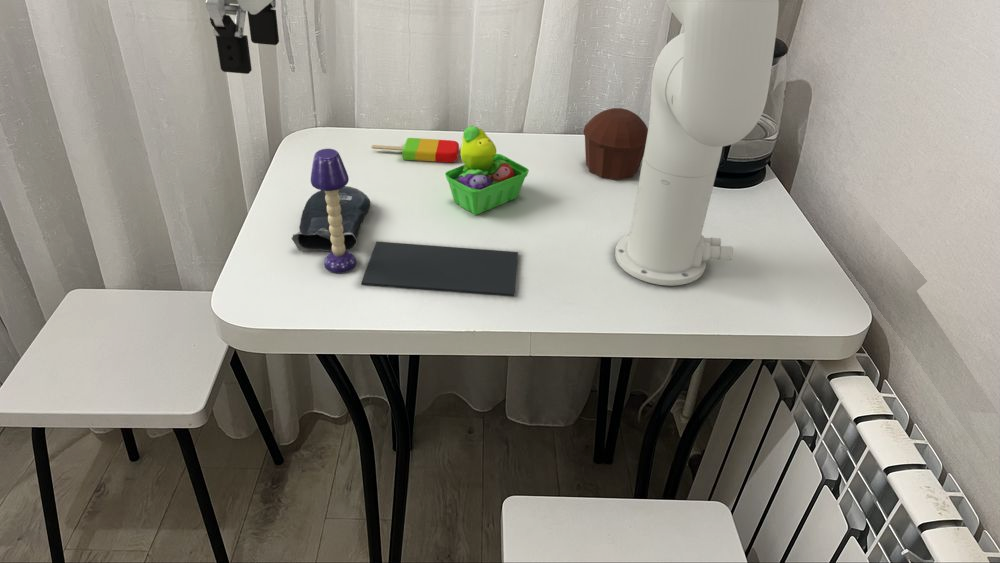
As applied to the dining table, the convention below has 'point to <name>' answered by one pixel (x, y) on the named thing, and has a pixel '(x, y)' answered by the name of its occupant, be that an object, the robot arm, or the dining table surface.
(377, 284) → the mat
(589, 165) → the muffin
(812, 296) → the dining table surface
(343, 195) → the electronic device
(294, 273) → the dining table surface
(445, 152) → the popsicle
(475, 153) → the fruit basket
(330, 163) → the toy lamp
